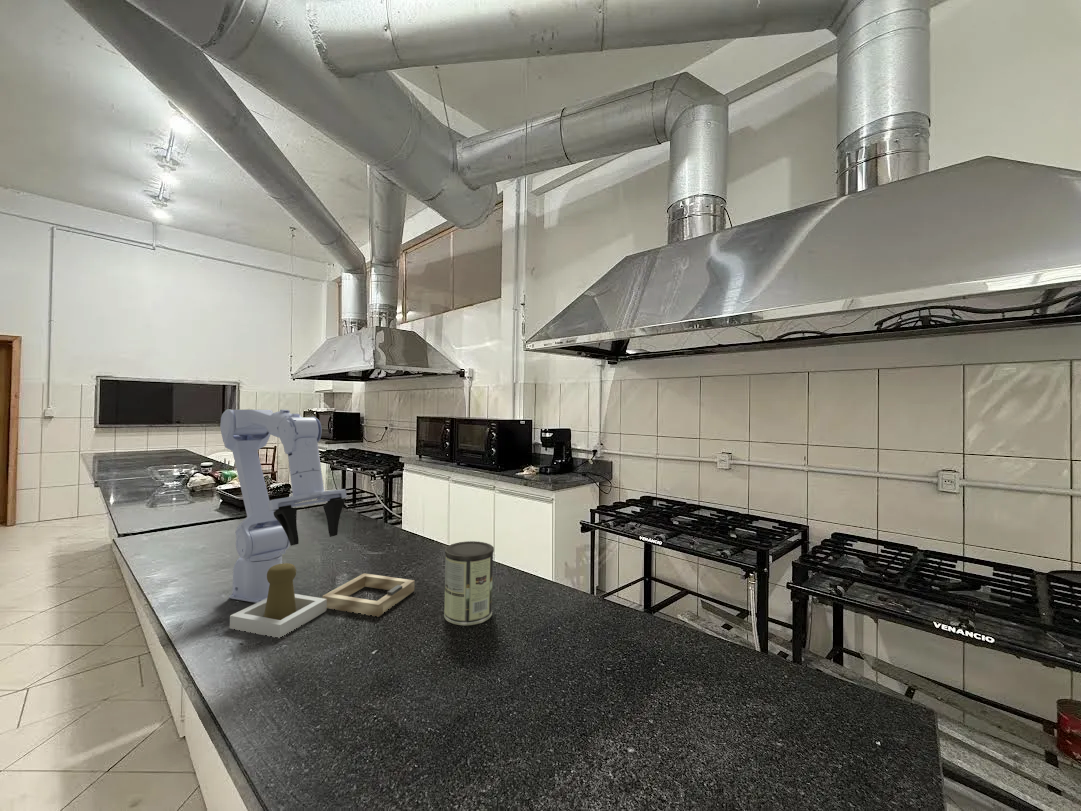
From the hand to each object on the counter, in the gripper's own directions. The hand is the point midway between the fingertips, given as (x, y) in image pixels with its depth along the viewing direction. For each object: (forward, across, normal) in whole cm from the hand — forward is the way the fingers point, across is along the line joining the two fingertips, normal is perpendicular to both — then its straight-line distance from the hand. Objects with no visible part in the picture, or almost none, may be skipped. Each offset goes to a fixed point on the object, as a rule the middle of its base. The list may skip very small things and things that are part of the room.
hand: (314, 540), depth 89 cm
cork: (+14, -4, +11) cm, 18 cm away
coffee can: (+23, +23, -14) cm, 35 cm away
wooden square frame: (+16, +13, +7) cm, 22 cm away
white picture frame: (+14, -4, +11) cm, 18 cm away
